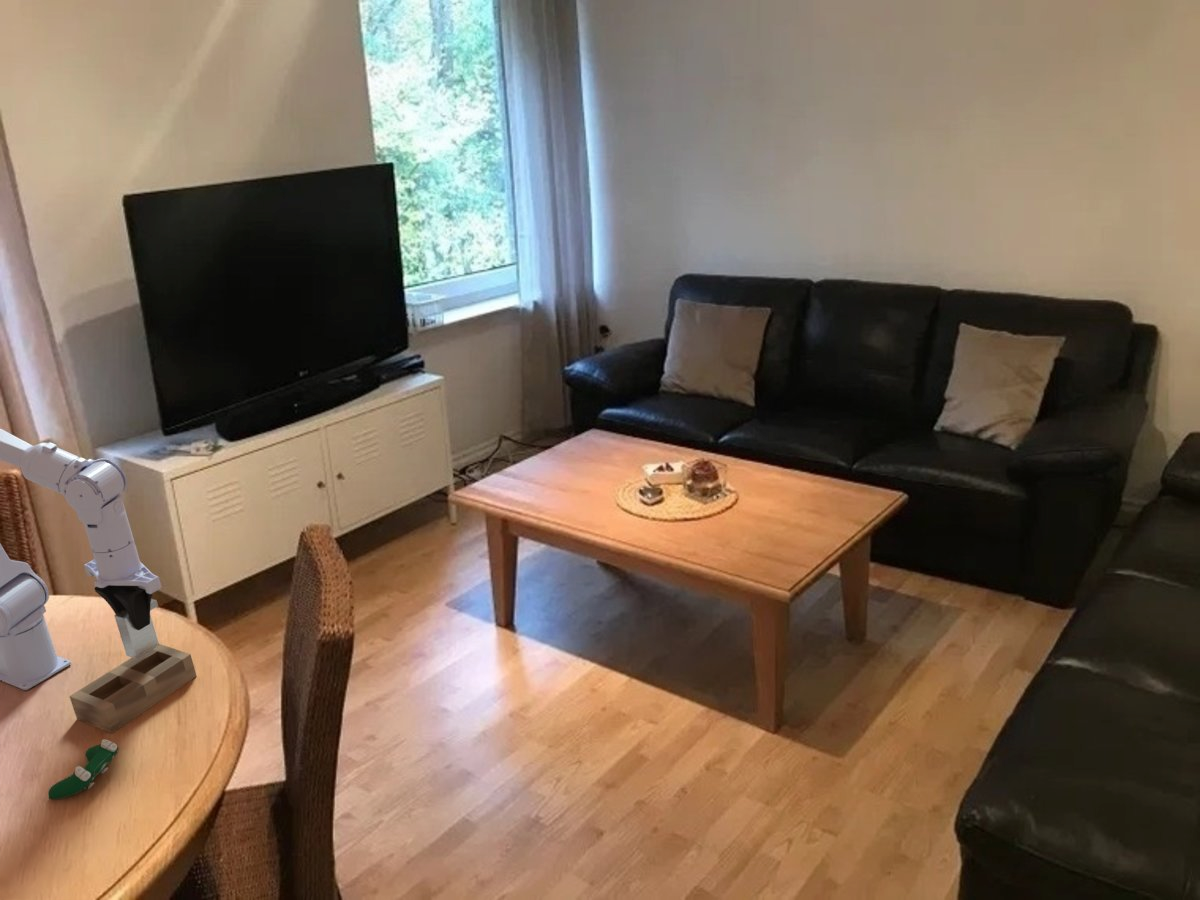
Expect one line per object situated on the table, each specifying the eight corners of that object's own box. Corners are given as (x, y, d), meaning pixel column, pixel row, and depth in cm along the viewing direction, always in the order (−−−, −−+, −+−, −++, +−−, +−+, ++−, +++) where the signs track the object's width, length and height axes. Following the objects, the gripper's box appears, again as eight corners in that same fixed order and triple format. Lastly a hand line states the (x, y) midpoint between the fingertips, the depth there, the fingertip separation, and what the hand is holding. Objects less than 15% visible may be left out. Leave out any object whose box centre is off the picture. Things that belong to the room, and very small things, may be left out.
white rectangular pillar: (126, 655, 158) (114, 615, 155) (157, 636, 162) (146, 597, 160) (137, 659, 157) (124, 618, 154) (167, 639, 161) (156, 600, 158)
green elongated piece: (66, 814, 137) (86, 790, 135) (42, 796, 137) (62, 772, 134) (109, 767, 146) (129, 744, 143) (87, 750, 145) (107, 726, 143)
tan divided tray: (76, 719, 153) (69, 696, 152) (162, 664, 165) (156, 642, 164) (111, 733, 150) (104, 710, 148) (196, 676, 161) (190, 654, 160)
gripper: (56, 547, 153) (82, 627, 158) (121, 565, 145) (145, 648, 151) (99, 526, 158) (122, 604, 163) (163, 542, 151) (185, 624, 156)
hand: (136, 624), depth 157 cm, fingers closed on white rectangular pillar, 2 cm apart
